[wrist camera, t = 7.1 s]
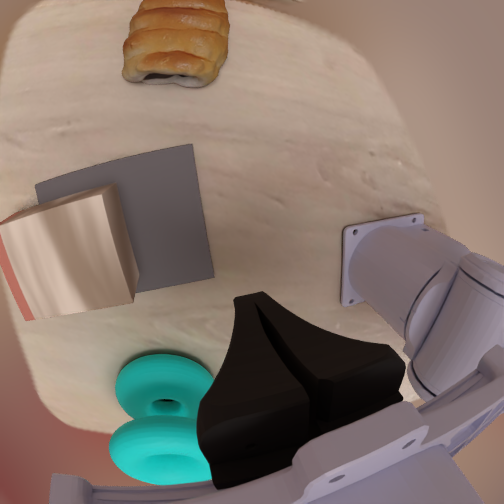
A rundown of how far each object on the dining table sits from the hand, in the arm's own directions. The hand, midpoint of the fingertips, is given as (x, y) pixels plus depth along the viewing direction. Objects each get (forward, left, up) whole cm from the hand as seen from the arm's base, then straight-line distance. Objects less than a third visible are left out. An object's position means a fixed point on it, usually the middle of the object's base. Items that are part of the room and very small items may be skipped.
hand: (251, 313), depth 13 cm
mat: (+7, -2, -10) cm, 12 cm away
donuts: (+8, +14, -10) cm, 19 cm away
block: (+7, -2, -8) cm, 10 cm away
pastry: (+1, -15, -10) cm, 18 cm away
